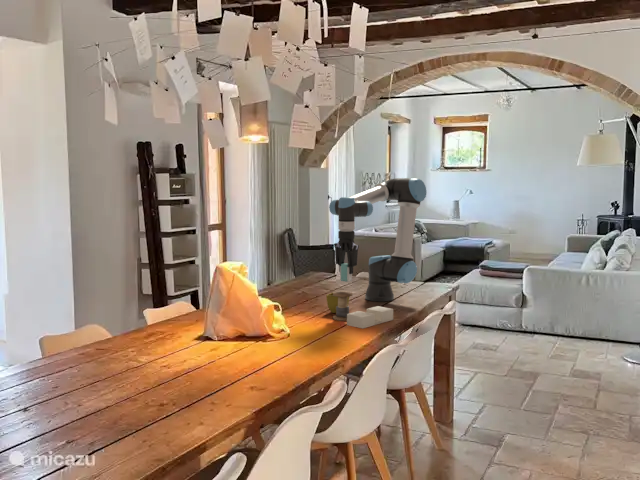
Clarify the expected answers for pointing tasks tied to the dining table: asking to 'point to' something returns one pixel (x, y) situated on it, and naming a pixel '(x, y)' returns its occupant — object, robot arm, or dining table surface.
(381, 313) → the notched board
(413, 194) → the robot arm
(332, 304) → the flower pot
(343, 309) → the door knob
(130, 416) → the dining table surface
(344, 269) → the block
